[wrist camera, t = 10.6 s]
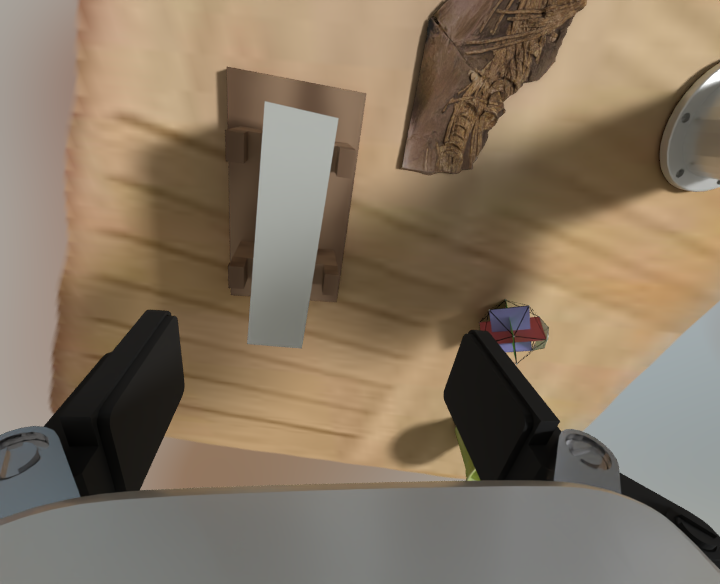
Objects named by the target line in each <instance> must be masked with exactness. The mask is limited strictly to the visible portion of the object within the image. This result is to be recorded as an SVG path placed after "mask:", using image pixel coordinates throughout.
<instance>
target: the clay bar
mask: <svg viewBox="0 0 720 584" xmlns="http://www.w3.org/2000/svg"><path fill="white" fill-rule="evenodd" d="M338 119H339V118H335V117H331V116H327V115H323V114H319V113H314V112H310V111H306V110H301V109H297V108H293V107H288V106H284V105H280V104H276V103H271V102H266V101H265V105H264V119H263V133H262V147H261V161H260V175H259V189H258V203H257V216H256V230H255V244H254V258H253V272H252V286H251V300H250V314H249V327H248V341H247V344H254V345H266V346H278V347H290V348H302V344H303V337H304V331H305V325H306V319H307V312H308V306H309V300H310V294H311V287H312V281H313V275H314V269H315V262H316V256H317V250H318V244H319V238H320V231H321V225H322V219H323V213H324V206H325V200H326V194H327V188H328V181H329V175H330V169H331V163H332V156H333V150H334V144H335V138H336V131H337V125H338Z"/></svg>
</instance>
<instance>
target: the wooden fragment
mask: <svg viewBox="0 0 720 584" xmlns="http://www.w3.org/2000/svg"><path fill="white" fill-rule="evenodd" d="M586 4H587V0H448V1H447V2H446V3H445V4H444V5H443V6H442V7H441V8H440V9H439V10H438V11H437V12H436V13H435V14H434V16H433V17H436V19H437V20H438V22H439V25H438V24H436V22H435V20H436V19H435V20H433V17H432V18H430V20H429V22H428V29H427V35H428V36H427V39H426V43H425V49H424V56H423V60H422V64H421V69H420V75H419V80H418V86H417V90H416V95H415V100H414V105H413V110H412V117H411V121H410V127H409V130H408V137H407V141H406V147H405V153H404V159H403V165H402V168H400V169H405V170H411V171H415V172H419V173H422V174H426V175H432V174H435V173H438V172H448V173H451V174H457V173H459V172H460V171H461V170H463V169H473V165H472V164H473V163H474V161H475V160H476V159H477V156H478V155H479V153H480V151H481V149H482V148H483V147H484V145H485V143H486V141H487V138H488V131H489V130H490V129H492V126H495V124H496V123H497V120H498V118H499V117H501V116H502V115H503V114H504V113H505V109H504V104H503V102H504V101H505V100H506V99H507V98H508V97H509V96H510V95H513V94H514V93H516V92H517V91H518V89H519V88H520V87H522V86H523V83H525V82H530V81H537V80H539V79H540V78H541V77H542V76H543V75H544V74H545V73H546V72H547V70H548V69H549V68H550V66H551V65H552V64H553V63H554V62H555V59H556V55H557V53H558V49H559V48H560V46H561V44H562V40H563V38H564V36H565V35H566V33H567V28H568V26H570V24H571V22H572V19H573V17H574V15H575V14H576V12H578V11H580V10H582V9H583V8H584V7H585V6H586Z"/></svg>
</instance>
